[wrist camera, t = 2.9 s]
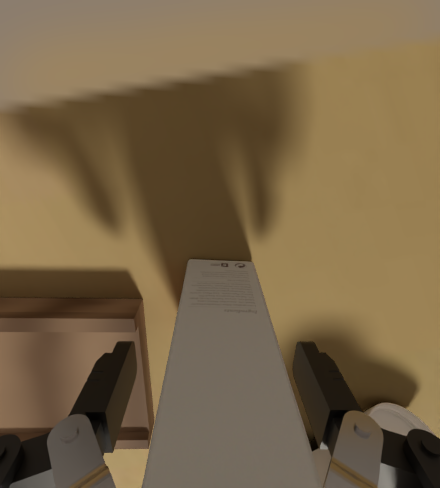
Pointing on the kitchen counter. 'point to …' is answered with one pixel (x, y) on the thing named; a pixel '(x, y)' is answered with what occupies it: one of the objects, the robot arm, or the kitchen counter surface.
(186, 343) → the skincare box
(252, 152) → the kitchen counter surface
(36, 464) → the robot arm
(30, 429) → the board
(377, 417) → the spread jar
